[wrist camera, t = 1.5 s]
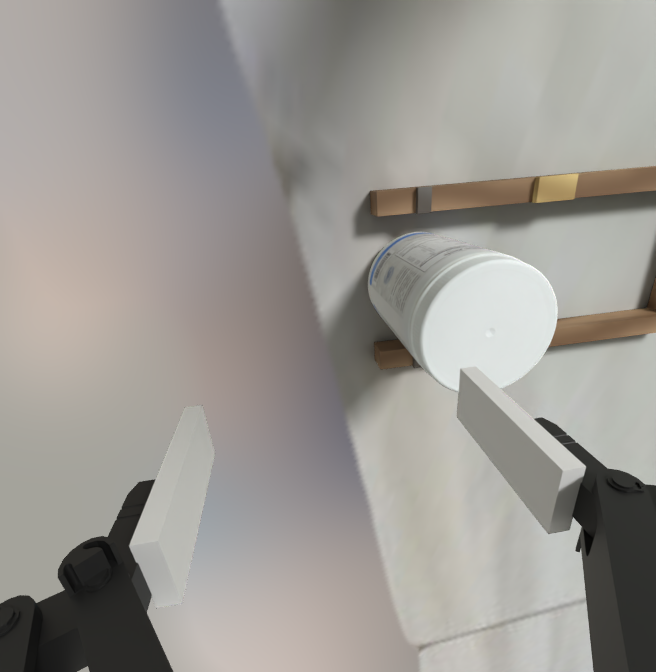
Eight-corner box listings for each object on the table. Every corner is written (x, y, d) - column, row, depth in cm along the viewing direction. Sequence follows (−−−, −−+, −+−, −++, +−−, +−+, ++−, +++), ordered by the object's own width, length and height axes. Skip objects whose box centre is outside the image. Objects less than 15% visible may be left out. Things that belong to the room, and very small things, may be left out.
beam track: (370, 190, 32) (378, 191, 30) (707, 161, 36) (743, 159, 33) (374, 359, 39) (382, 372, 37) (657, 322, 42) (683, 331, 40)
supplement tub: (462, 307, 38) (563, 374, 25) (377, 335, 38) (432, 417, 25) (449, 215, 34) (561, 236, 21) (354, 246, 34) (405, 287, 21)
